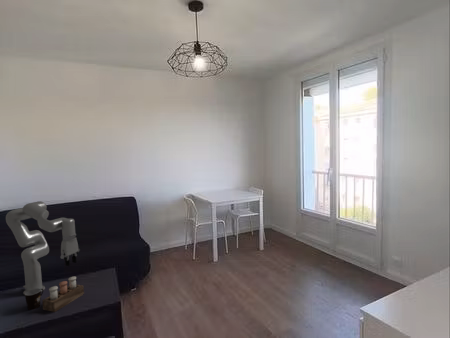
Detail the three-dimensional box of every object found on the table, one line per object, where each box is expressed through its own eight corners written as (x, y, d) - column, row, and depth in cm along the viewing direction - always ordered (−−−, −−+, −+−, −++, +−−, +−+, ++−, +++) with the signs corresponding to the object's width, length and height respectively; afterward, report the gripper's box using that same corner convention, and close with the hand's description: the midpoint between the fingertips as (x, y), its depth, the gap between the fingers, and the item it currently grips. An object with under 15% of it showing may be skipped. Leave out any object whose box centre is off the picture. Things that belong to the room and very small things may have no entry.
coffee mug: (29, 312, 170) (28, 296, 169) (23, 308, 174) (21, 293, 174) (49, 303, 180) (48, 288, 179) (43, 300, 184) (42, 285, 184)
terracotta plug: (57, 296, 180) (57, 284, 179) (64, 292, 184) (63, 280, 184) (63, 297, 178) (62, 285, 178) (69, 293, 183) (69, 281, 182)
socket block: (43, 309, 173) (42, 300, 172) (72, 292, 193) (72, 283, 193) (55, 312, 169) (54, 302, 169) (84, 294, 190) (83, 285, 190)
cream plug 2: (67, 290, 186) (66, 279, 186) (73, 287, 191) (72, 276, 190) (72, 291, 185) (71, 280, 184) (78, 288, 189) (77, 276, 189)
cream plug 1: (47, 301, 173) (46, 289, 173) (54, 297, 178) (53, 285, 177) (53, 302, 171) (52, 290, 171) (60, 298, 176) (59, 286, 175)
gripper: (75, 233, 195) (77, 258, 196) (53, 241, 179) (55, 268, 180) (83, 234, 192) (85, 259, 193) (62, 241, 176) (64, 269, 177)
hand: (71, 263), depth 187 cm, fingers open, 4 cm apart
